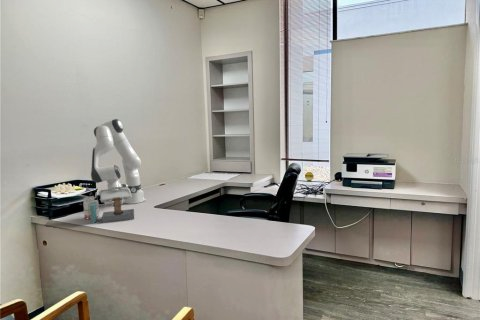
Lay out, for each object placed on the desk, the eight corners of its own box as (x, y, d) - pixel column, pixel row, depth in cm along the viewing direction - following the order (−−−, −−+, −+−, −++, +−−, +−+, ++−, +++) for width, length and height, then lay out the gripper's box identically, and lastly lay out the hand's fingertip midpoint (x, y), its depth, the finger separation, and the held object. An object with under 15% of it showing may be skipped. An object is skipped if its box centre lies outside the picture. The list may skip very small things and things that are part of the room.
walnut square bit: (114, 214, 225) (113, 197, 224) (120, 213, 227) (119, 196, 225) (115, 216, 222) (114, 198, 220) (121, 215, 223) (120, 197, 222)
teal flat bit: (92, 220, 222) (91, 203, 221) (96, 220, 223) (95, 202, 221) (91, 223, 215) (89, 205, 214) (95, 222, 216) (94, 205, 215)
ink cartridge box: (88, 219, 224) (87, 198, 222) (84, 218, 226) (82, 198, 225) (99, 216, 231) (98, 196, 229) (95, 215, 234) (93, 195, 232)
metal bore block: (104, 217, 227) (103, 212, 227) (134, 214, 233) (133, 209, 233) (102, 222, 216) (101, 216, 215) (134, 219, 222) (133, 213, 221)
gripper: (98, 187, 223) (101, 204, 216) (129, 184, 233) (133, 200, 225) (98, 193, 228) (101, 210, 220) (129, 189, 237) (132, 205, 230)
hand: (117, 205), depth 223 cm, fingers closed on walnut square bit, 4 cm apart
